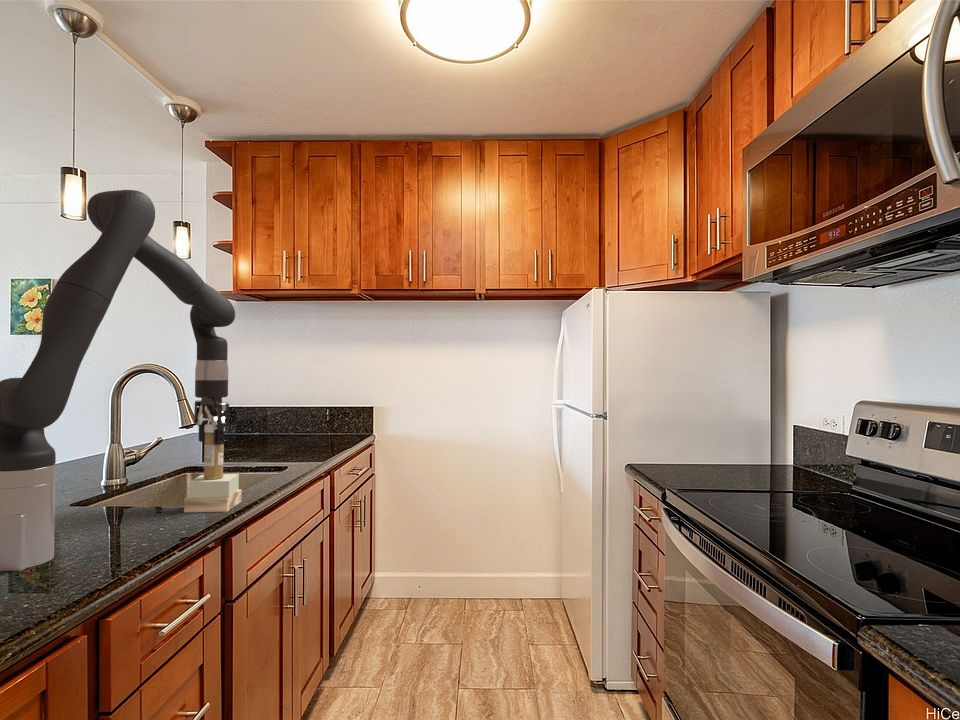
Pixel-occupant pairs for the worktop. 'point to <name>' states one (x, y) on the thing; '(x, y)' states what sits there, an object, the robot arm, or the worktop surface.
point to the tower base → (212, 503)
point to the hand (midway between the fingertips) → (210, 442)
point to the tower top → (214, 487)
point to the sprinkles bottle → (212, 455)
